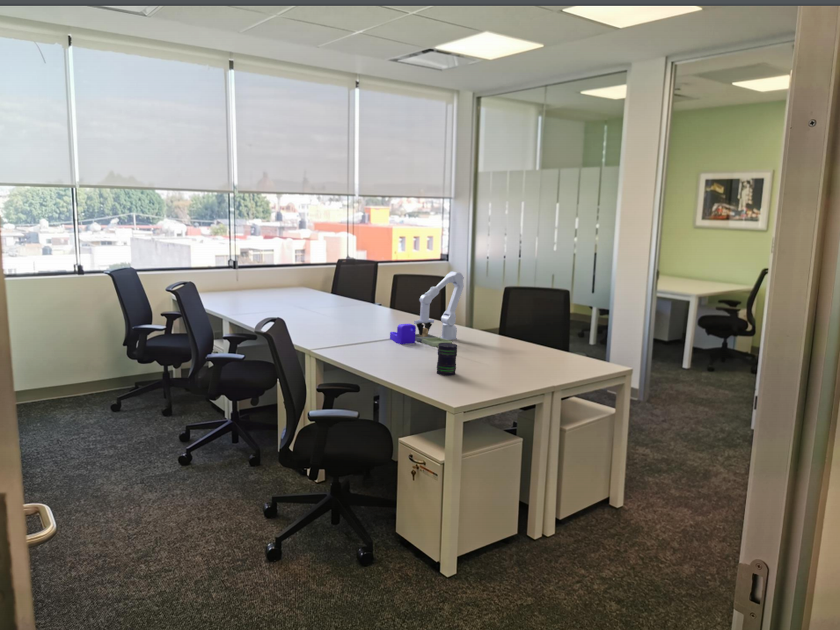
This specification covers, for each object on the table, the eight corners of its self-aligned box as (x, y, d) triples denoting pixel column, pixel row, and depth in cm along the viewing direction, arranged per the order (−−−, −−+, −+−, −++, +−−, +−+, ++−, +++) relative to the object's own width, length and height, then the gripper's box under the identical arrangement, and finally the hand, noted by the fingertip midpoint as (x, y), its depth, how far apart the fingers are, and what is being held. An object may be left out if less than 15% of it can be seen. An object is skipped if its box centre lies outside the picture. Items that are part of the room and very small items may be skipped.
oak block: (423, 335, 405) (424, 327, 404) (427, 336, 401) (428, 328, 401) (419, 335, 402) (419, 328, 401) (422, 337, 399) (423, 329, 398)
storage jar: (435, 370, 324) (437, 342, 321) (454, 371, 325) (456, 343, 322) (437, 375, 314) (439, 346, 312) (456, 376, 315) (458, 347, 312)
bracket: (414, 343, 390) (416, 324, 388) (400, 344, 384) (401, 325, 382) (398, 337, 404) (399, 319, 402) (384, 339, 397) (385, 320, 396)
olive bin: (438, 341, 400) (439, 337, 400) (452, 345, 390) (452, 341, 390) (421, 342, 392) (421, 338, 392) (434, 346, 382) (434, 342, 381)
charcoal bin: (425, 337, 411) (425, 333, 411) (437, 340, 401) (438, 337, 401) (408, 338, 403) (408, 334, 402) (420, 342, 393) (420, 338, 392)
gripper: (429, 311, 407) (428, 332, 409) (411, 313, 398) (410, 334, 400) (436, 313, 401) (435, 334, 404) (418, 314, 393) (417, 336, 395)
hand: (423, 334), depth 402 cm, fingers closed on oak block, 4 cm apart
